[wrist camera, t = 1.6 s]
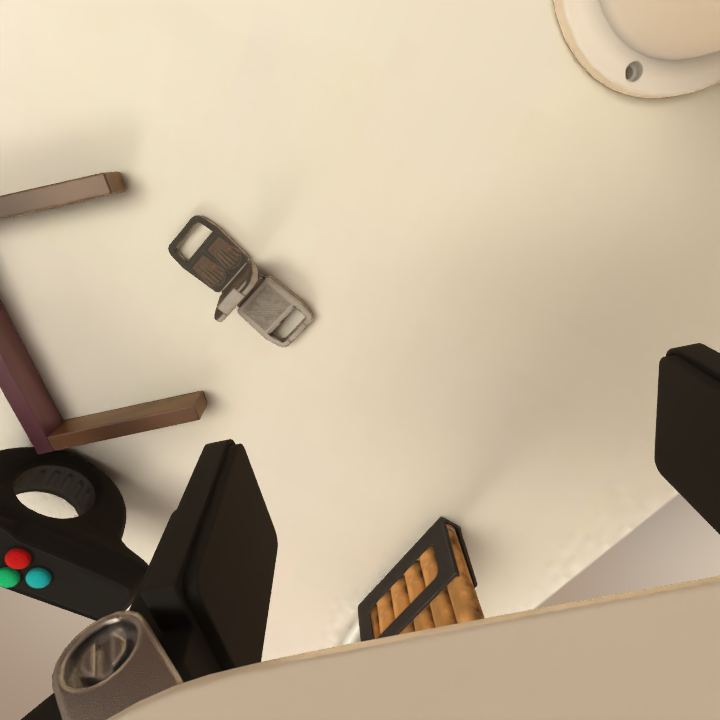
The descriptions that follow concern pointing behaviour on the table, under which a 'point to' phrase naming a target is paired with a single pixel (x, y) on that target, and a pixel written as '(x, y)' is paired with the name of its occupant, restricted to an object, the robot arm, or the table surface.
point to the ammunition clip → (424, 588)
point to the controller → (66, 535)
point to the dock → (20, 378)
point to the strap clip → (240, 283)
